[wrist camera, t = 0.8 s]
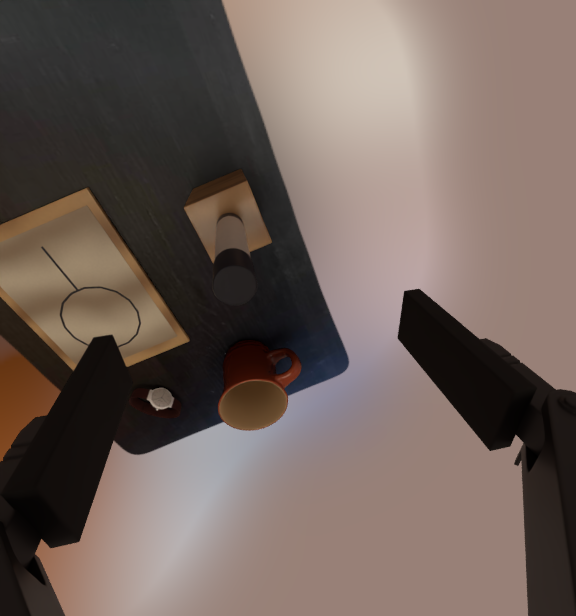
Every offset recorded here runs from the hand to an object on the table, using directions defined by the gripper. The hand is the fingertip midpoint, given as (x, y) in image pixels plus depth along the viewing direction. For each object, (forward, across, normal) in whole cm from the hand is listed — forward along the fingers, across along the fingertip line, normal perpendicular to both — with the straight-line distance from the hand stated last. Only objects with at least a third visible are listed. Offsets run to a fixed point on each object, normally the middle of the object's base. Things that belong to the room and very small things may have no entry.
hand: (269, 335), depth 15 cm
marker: (+17, -1, 0) cm, 17 cm away
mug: (+27, 0, -22) cm, 35 cm away
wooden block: (+27, -1, 0) cm, 27 cm away
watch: (+27, -17, -27) cm, 42 cm away
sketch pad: (+27, -20, -9) cm, 35 cm away
